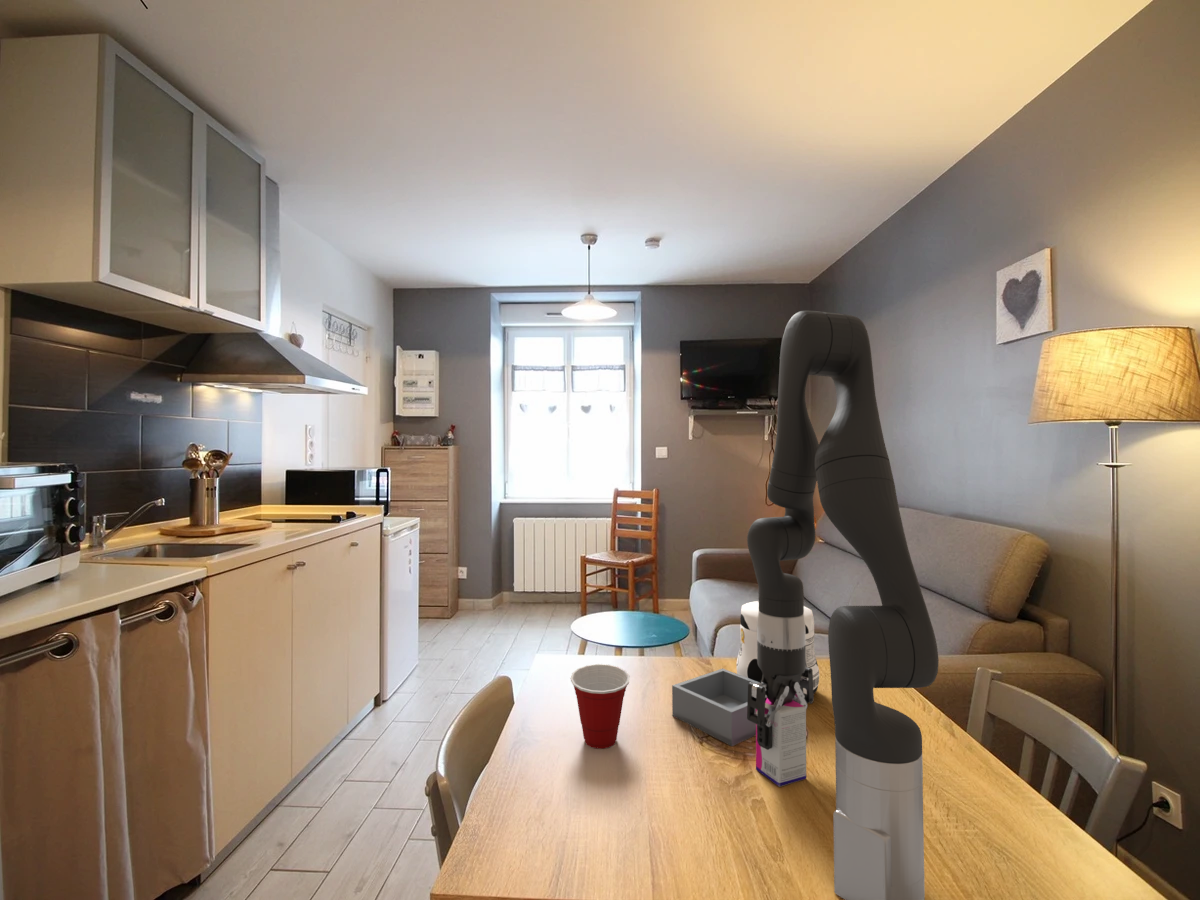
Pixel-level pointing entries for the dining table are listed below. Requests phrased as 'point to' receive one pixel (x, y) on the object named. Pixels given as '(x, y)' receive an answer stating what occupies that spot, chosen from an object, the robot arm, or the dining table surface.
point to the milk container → (749, 644)
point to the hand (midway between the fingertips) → (781, 738)
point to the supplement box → (785, 746)
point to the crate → (715, 705)
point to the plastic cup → (600, 702)
